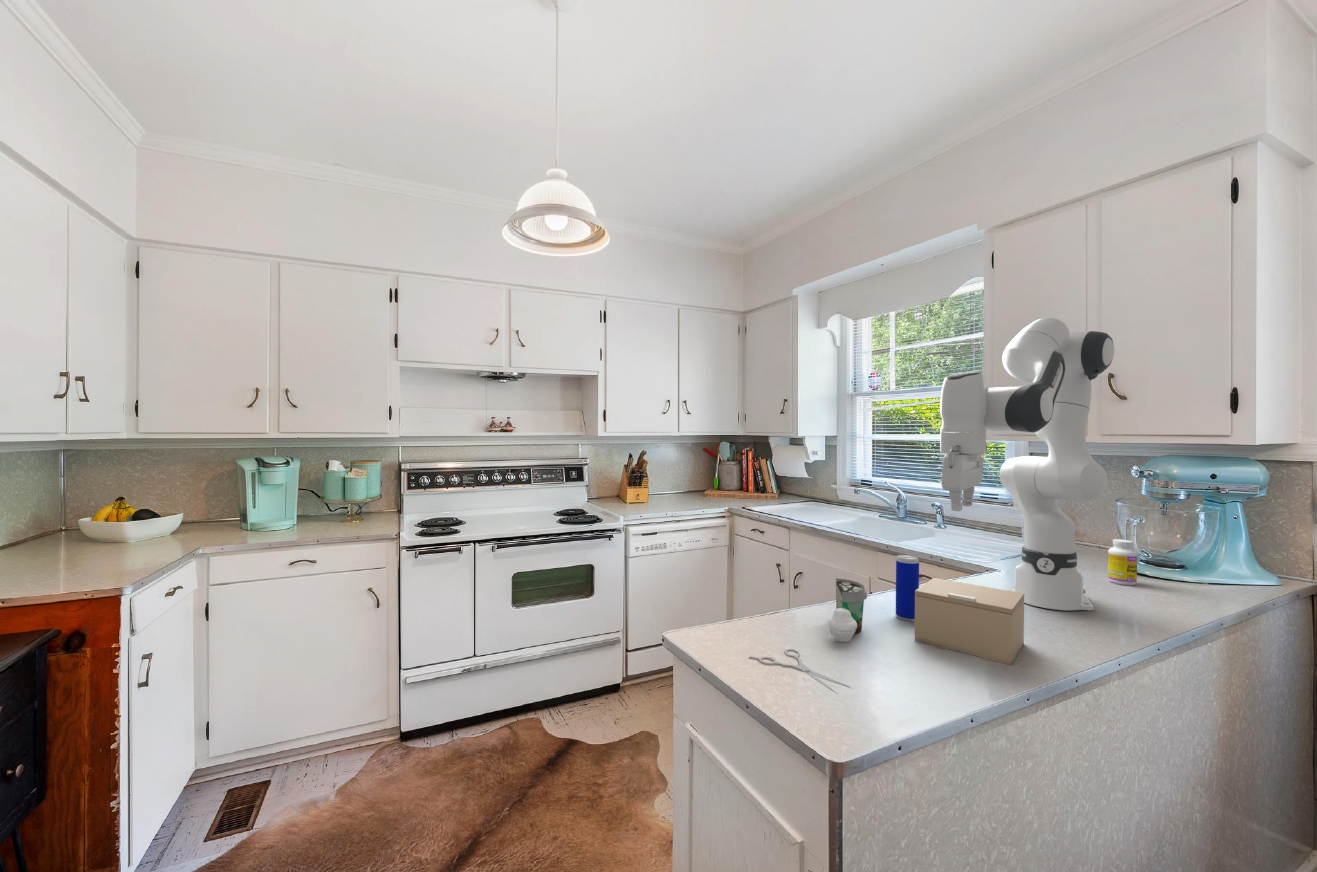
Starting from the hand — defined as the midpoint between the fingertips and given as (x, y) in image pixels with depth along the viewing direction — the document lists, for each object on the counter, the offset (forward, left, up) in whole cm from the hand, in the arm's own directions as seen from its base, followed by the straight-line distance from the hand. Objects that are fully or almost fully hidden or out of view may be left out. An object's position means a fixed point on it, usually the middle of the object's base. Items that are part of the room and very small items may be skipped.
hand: (962, 508), depth 119 cm
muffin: (+18, -19, -29) cm, 39 cm away
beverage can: (-6, -13, -29) cm, 33 cm away
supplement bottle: (-82, +25, -29) cm, 91 cm away
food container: (+10, -20, -29) cm, 37 cm away
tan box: (+1, +2, -29) cm, 29 cm away
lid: (+1, +2, -19) cm, 19 cm away
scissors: (+38, -18, -30) cm, 51 cm away
